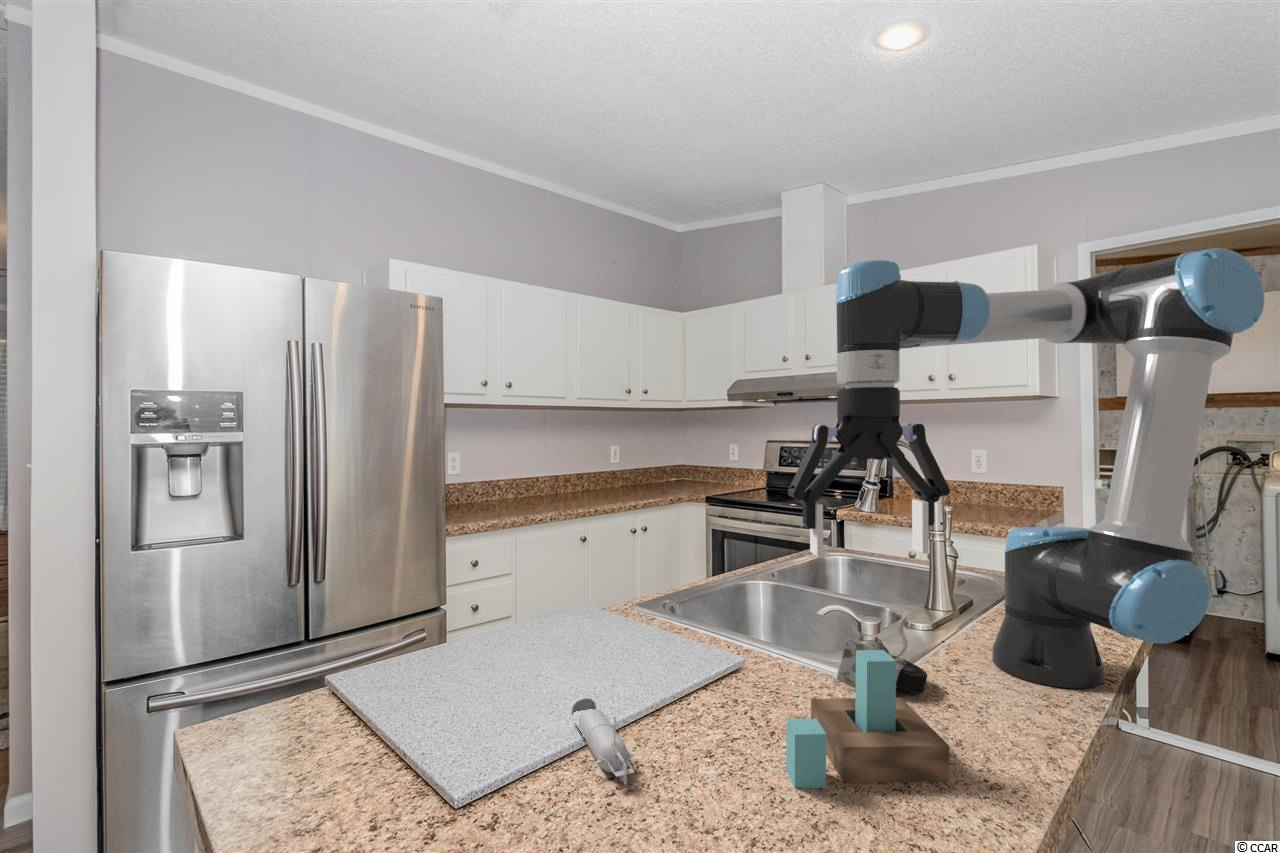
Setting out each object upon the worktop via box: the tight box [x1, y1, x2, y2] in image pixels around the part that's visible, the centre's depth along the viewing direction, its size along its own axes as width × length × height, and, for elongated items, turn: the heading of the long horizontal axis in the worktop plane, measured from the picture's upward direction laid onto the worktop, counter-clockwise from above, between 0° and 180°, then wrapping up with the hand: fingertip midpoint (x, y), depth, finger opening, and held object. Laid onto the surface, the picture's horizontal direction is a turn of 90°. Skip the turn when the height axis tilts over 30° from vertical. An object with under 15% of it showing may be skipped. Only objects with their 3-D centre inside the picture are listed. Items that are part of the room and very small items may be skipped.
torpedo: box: [571, 696, 635, 787], centre depth 78 cm, size 18×5×7 cm, turn 22°
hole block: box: [810, 697, 950, 784], centre depth 77 cm, size 12×12×4 cm
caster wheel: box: [836, 637, 928, 694], centre depth 96 cm, size 7×11×10 cm
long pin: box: [854, 650, 897, 732], centre depth 77 cm, size 4×4×12 cm
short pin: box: [785, 718, 827, 789], centre depth 72 cm, size 4×4×6 cm
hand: (868, 552), depth 81 cm, fingers open, 13 cm apart
